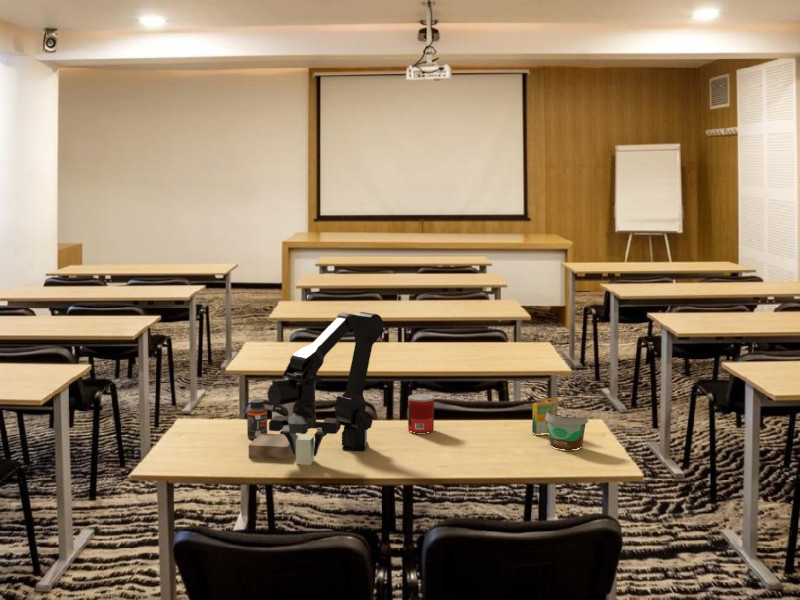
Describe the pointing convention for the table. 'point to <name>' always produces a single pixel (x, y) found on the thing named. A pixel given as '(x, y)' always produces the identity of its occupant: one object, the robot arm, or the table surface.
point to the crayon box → (543, 414)
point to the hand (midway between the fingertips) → (305, 455)
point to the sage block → (304, 450)
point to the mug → (282, 410)
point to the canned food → (421, 413)
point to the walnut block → (270, 447)
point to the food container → (566, 431)
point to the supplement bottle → (256, 418)
